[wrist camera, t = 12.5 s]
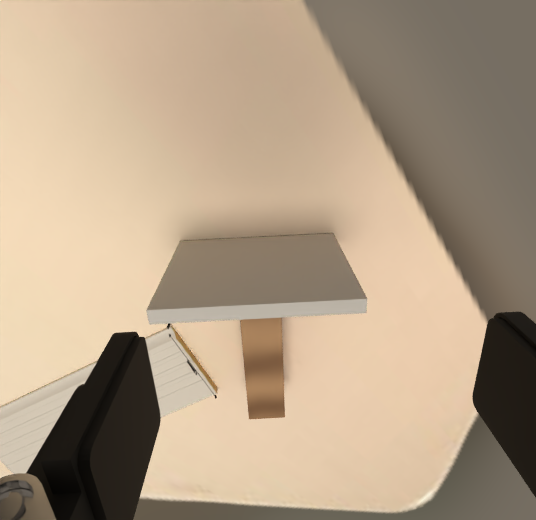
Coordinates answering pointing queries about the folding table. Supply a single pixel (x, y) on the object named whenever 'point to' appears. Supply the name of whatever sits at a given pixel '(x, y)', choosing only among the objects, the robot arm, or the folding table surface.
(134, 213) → the folding table surface
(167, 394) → the grey flat board
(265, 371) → the rail
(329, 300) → the panel
